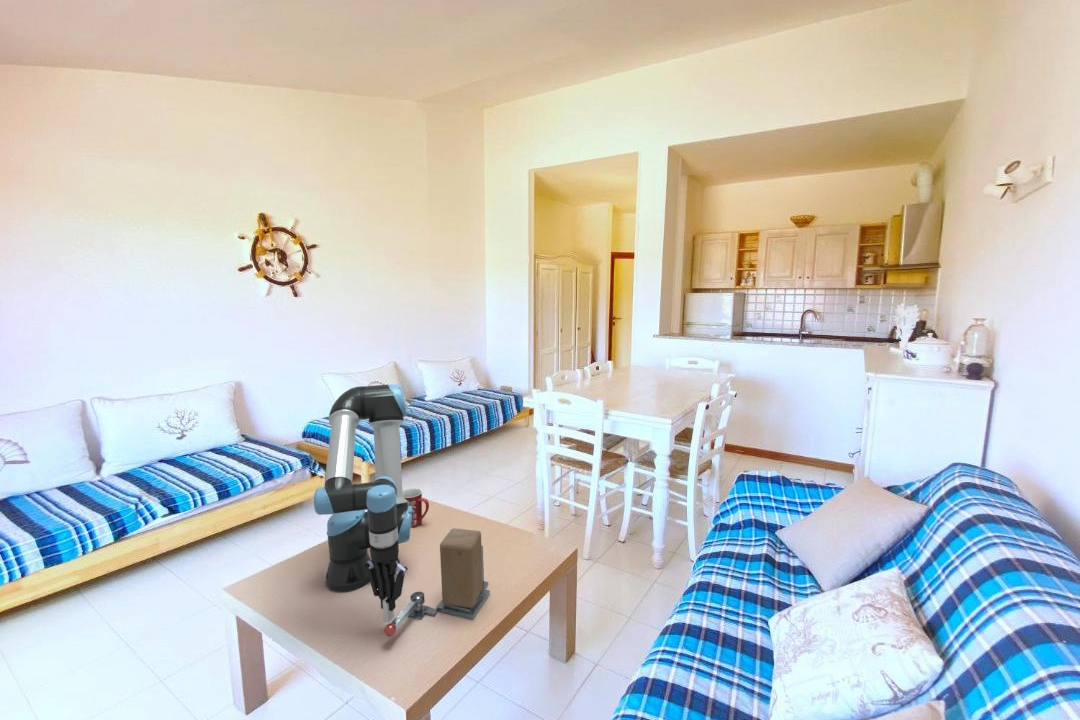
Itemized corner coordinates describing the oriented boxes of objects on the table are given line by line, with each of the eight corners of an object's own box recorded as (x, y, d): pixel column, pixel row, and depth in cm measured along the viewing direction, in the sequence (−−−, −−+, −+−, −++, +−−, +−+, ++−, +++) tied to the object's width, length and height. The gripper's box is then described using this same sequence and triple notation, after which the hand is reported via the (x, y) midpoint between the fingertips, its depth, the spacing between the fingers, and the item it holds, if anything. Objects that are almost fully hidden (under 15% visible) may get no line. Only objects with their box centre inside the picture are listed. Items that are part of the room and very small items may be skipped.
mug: (396, 526, 194) (394, 494, 192) (411, 516, 202) (409, 486, 200) (421, 532, 188) (419, 500, 186) (435, 522, 196) (434, 491, 194)
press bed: (406, 616, 141) (403, 573, 139) (442, 575, 161) (440, 536, 159) (465, 630, 135) (464, 585, 133) (495, 586, 155) (494, 546, 153)
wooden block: (473, 609, 141) (470, 547, 138) (441, 605, 143) (438, 543, 140) (483, 588, 150) (482, 529, 147) (453, 585, 152) (451, 526, 149)
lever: (380, 637, 129) (379, 627, 128) (415, 598, 145) (415, 588, 144) (393, 641, 127) (392, 630, 127) (427, 600, 143) (426, 591, 143)
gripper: (355, 545, 130) (361, 623, 134) (395, 553, 126) (400, 633, 130) (373, 531, 138) (378, 606, 141) (412, 539, 133) (416, 615, 137)
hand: (389, 619), depth 136 cm, fingers closed
